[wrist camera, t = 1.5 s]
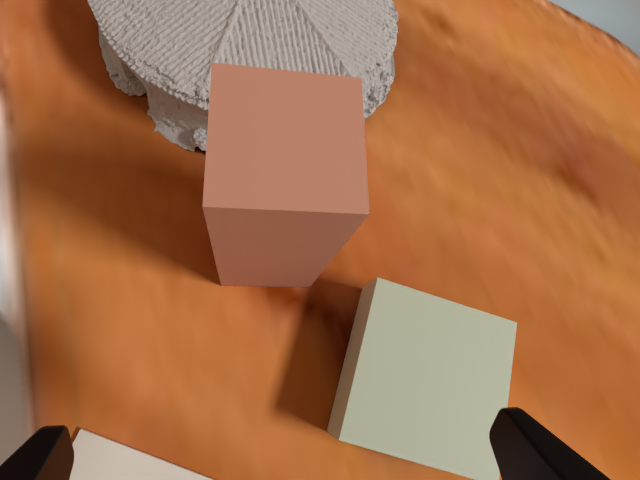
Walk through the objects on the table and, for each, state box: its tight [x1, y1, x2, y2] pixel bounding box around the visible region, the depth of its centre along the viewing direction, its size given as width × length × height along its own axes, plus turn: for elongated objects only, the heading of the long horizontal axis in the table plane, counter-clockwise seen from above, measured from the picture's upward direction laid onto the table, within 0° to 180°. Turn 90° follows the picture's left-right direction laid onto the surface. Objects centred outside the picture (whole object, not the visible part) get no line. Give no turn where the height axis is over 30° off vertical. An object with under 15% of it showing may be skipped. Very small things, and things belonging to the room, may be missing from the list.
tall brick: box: [202, 63, 369, 287], centre depth 19 cm, size 5×5×12 cm
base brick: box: [327, 278, 517, 480], centre depth 22 cm, size 8×8×3 cm
